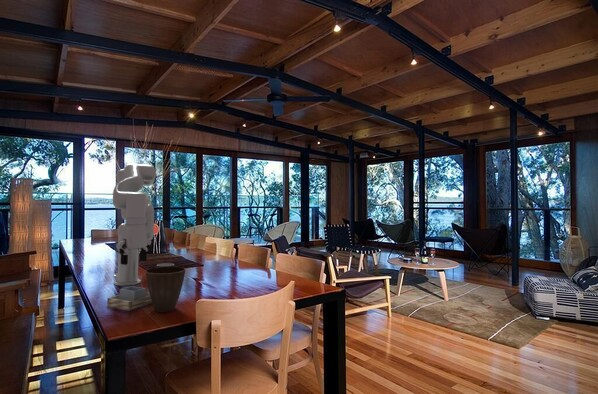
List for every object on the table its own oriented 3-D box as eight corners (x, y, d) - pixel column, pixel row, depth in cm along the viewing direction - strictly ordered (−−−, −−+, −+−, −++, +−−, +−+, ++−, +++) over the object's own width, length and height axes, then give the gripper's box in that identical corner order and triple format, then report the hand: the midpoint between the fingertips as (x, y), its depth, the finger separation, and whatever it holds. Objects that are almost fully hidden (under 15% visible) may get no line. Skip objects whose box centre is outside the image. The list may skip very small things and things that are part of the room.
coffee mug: (177, 282, 180) (177, 264, 180) (165, 286, 172) (166, 266, 172) (159, 280, 184) (160, 262, 184) (147, 284, 176) (148, 264, 176)
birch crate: (107, 306, 137) (107, 298, 137) (134, 298, 149) (134, 290, 149) (129, 311, 132) (130, 302, 132) (155, 302, 145) (156, 294, 145)
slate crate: (119, 303, 139) (119, 289, 139) (131, 299, 145) (131, 285, 145) (133, 306, 136) (134, 291, 137) (145, 302, 142) (145, 288, 142)
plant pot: (143, 317, 125) (145, 274, 126) (144, 305, 139) (146, 267, 139) (185, 313, 131) (187, 272, 132) (182, 302, 145) (183, 265, 145)
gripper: (144, 220, 151) (143, 258, 151) (110, 222, 135) (109, 265, 135) (157, 221, 148) (156, 260, 148) (124, 223, 132) (122, 266, 132)
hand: (133, 262), depth 141 cm, fingers open, 9 cm apart
